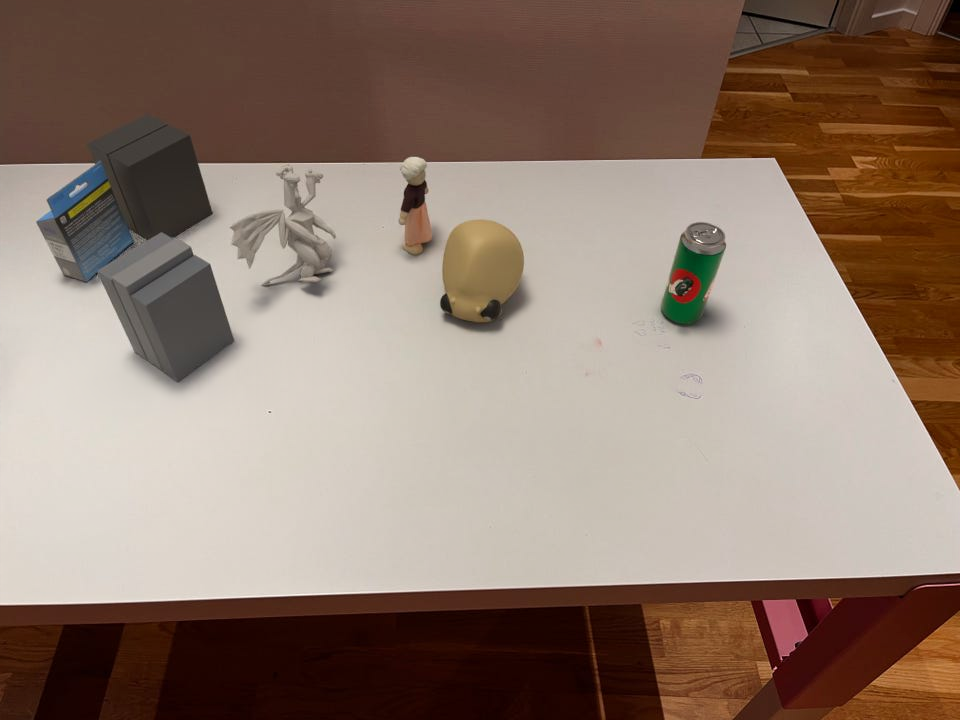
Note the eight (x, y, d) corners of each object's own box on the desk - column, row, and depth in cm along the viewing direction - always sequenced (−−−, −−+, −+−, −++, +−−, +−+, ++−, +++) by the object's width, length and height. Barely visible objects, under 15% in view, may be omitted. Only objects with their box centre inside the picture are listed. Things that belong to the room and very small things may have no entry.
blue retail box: (111, 234, 98) (76, 152, 89) (135, 242, 97) (102, 159, 88) (61, 275, 92) (18, 191, 83) (87, 283, 91) (46, 200, 82)
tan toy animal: (443, 311, 95) (415, 310, 84) (463, 218, 93) (437, 206, 83) (517, 328, 92) (497, 330, 82) (538, 233, 91) (521, 223, 81)
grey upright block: (134, 351, 84) (94, 266, 74) (190, 312, 88) (160, 228, 79) (178, 382, 81) (142, 298, 72) (234, 340, 85) (207, 256, 76)
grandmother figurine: (426, 261, 96) (423, 177, 86) (397, 257, 96) (391, 173, 87) (437, 225, 101) (436, 142, 91) (410, 222, 101) (405, 139, 92)
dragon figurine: (232, 305, 85) (197, 185, 80) (296, 261, 101) (270, 159, 96) (310, 298, 83) (279, 174, 78) (363, 254, 99) (340, 149, 94)
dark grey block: (119, 222, 99) (86, 143, 90) (173, 191, 104) (147, 113, 95) (158, 246, 96) (128, 166, 87) (213, 213, 101) (189, 134, 92)
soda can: (705, 327, 89) (733, 248, 80) (663, 326, 89) (687, 247, 80) (697, 298, 92) (723, 220, 83) (656, 297, 92) (678, 219, 83)
